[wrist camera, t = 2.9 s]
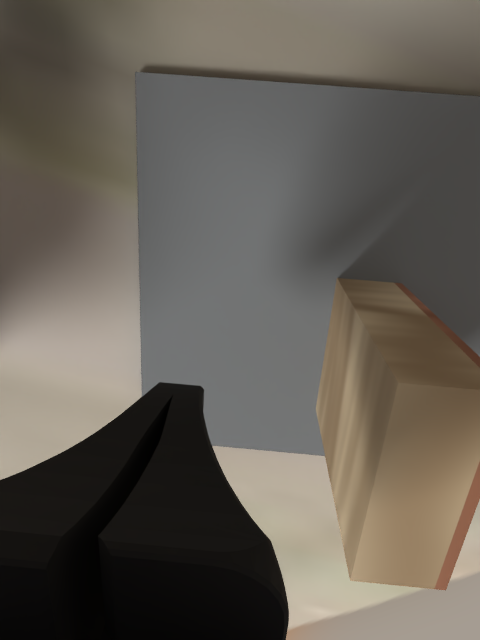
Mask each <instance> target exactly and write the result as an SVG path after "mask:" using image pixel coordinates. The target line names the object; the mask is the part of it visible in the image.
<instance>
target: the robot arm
mask: <svg viewBox="0 0 480 640" xmlns="http://www.w3.org/2000/svg"><path fill="white" fill-rule="evenodd" d="M203 408H204V389H203V388H202V387H201V386H197V385H186V384H175V383H164V382H159V383H158V384H157V385H155V386H154V387H153V388H152V389H151V390H149V391H148V392H147V393H146V394H145V395H144V396H142V397H141V398H140V399H139V400H138V401H137V402H135V403H134V404H133V405H132V406H130V407H129V408H128V409H127V410H125V411H124V412H123V413H122V414H120V415H119V416H118V417H117V418H115V419H114V420H113V421H111V422H110V423H108V424H107V425H106V426H104V427H103V428H101V429H100V430H99V431H97V432H96V433H94V434H93V435H91V436H90V437H88V438H86V439H85V440H83V441H81V442H80V443H78V444H76V445H74V446H73V447H71V448H69V449H68V450H66V451H64V452H62V453H60V454H58V455H56V456H54V457H52V458H50V459H48V460H46V461H44V462H42V463H39V464H37V465H35V466H33V467H31V468H29V469H27V470H25V471H22V472H20V473H17V474H15V475H13V476H10V477H8V478H5V479H2V480H0V640H286V634H287V628H288V620H289V610H288V602H287V596H286V591H285V586H284V582H283V578H282V574H281V571H280V567H279V564H278V561H277V558H276V555H275V552H274V549H273V546H272V543H271V541H270V539H269V538H268V537H267V536H266V535H265V534H264V533H263V531H262V530H261V529H260V528H259V527H258V525H257V524H256V523H255V522H254V521H253V519H252V518H251V517H250V515H249V514H248V512H247V511H246V510H245V508H244V507H243V506H242V504H241V503H240V501H239V499H238V498H237V496H236V494H235V493H234V491H233V489H232V488H231V486H230V485H229V483H228V481H227V479H226V477H225V475H224V473H223V471H222V469H221V467H220V465H219V463H218V460H217V458H216V456H215V453H214V450H213V448H212V445H211V442H210V438H209V435H208V432H207V428H206V423H205V419H204V413H203Z"/></svg>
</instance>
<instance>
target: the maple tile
mask: <svg viewBox="0 0 480 640" xmlns="http://www.w3.org/2000/svg"><path fill="white" fill-rule="evenodd" d="M316 413H317V418H318V423H319V428H320V433H321V438H322V443H323V448H324V453H325V458H326V463H327V468H328V473H329V478H330V482H331V487H332V492H333V497H334V502H335V507H336V512H337V517H338V522H339V527H340V532H341V537H342V542H343V547H344V552H345V557H346V562H347V567H348V572H349V577H350V581H359V582H369V583H379V584H389V585H399V586H409V587H419V588H429V589H439V590H446V588H447V586H448V583H449V580H450V578H451V575H452V572H453V569H454V567H455V564H456V561H457V559H458V556H459V553H460V551H461V548H462V545H463V542H464V540H465V537H466V534H467V532H468V529H469V526H470V524H471V521H472V518H473V515H474V513H475V510H476V507H477V505H478V502H479V499H480V357H479V356H478V355H477V354H476V353H475V352H474V351H473V350H472V349H471V348H470V347H469V346H468V345H467V344H466V343H465V342H464V341H462V340H461V339H460V338H459V337H458V336H457V335H456V334H455V333H454V332H453V331H452V330H451V329H450V328H449V327H448V326H447V325H445V324H444V323H443V322H442V321H441V320H440V319H439V318H438V317H437V316H436V315H435V314H434V313H433V312H432V311H431V310H430V309H428V308H427V307H426V306H425V305H424V304H423V303H422V302H421V301H420V300H419V299H418V298H417V297H416V296H415V295H414V294H413V293H411V292H410V291H409V290H408V289H407V288H406V287H405V286H404V285H403V284H402V283H392V282H380V281H368V280H356V279H343V278H337V280H336V287H335V293H334V299H333V305H332V311H331V317H330V324H329V330H328V336H327V342H326V348H325V354H324V361H323V367H322V373H321V379H320V385H319V391H318V398H317V404H316Z"/></svg>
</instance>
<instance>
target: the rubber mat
mask: <svg viewBox="0 0 480 640" xmlns="http://www.w3.org/2000/svg"><path fill="white" fill-rule="evenodd" d="M135 82H136V131H137V180H138V229H139V277H140V326H141V375H142V396H144V395H145V394H146V393H147V392H148V391H149V390H151V389H152V388H153V387H154V386H155V385H157V384H158V383H159V382H164V383H175V384H186V385H197V386H201V387H202V388H203V389H204V408H203V413H204V419H205V423H206V428H207V432H208V435H209V438H210V442H211V445H212V446H223V447H234V448H245V449H255V450H266V451H277V452H288V453H298V454H309V455H320V456H325V453H324V448H323V443H322V438H321V433H320V428H319V423H318V418H317V413H316V404H317V398H318V391H319V385H320V379H321V373H322V367H323V361H324V354H325V348H326V342H327V336H328V330H329V324H330V317H331V311H332V305H333V299H334V293H335V287H336V280H337V278H343V279H356V280H368V281H380V282H392V283H402V284H403V285H404V286H405V287H406V288H407V289H408V290H409V291H410V292H411V293H413V294H414V295H415V296H416V297H417V298H418V299H419V300H420V301H421V302H422V303H423V304H424V305H425V306H426V307H427V308H428V309H430V310H431V311H432V312H433V313H434V314H435V315H436V316H437V317H438V318H439V319H440V320H441V321H442V322H443V323H444V324H445V325H447V326H448V327H449V328H450V329H451V330H452V331H453V332H454V333H455V334H456V335H457V336H458V337H459V338H460V339H461V340H462V341H464V342H465V343H466V344H467V345H468V346H469V347H470V348H471V349H472V350H473V351H474V352H475V353H476V354H477V355H478V356H479V357H480V96H468V95H454V94H440V93H426V92H412V91H398V90H384V89H370V88H356V87H342V86H328V85H314V84H299V83H285V82H271V81H257V80H243V79H229V78H215V77H201V76H187V75H173V74H159V73H145V72H135Z"/></svg>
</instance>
